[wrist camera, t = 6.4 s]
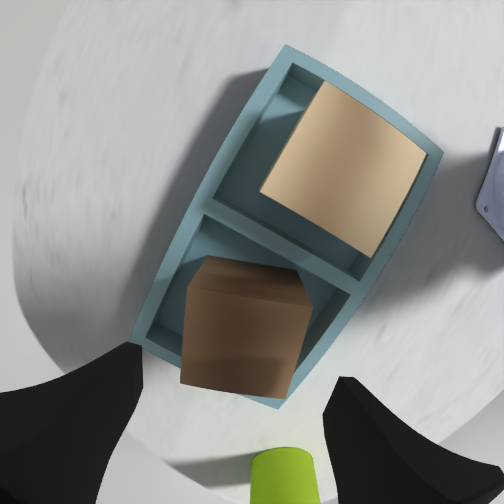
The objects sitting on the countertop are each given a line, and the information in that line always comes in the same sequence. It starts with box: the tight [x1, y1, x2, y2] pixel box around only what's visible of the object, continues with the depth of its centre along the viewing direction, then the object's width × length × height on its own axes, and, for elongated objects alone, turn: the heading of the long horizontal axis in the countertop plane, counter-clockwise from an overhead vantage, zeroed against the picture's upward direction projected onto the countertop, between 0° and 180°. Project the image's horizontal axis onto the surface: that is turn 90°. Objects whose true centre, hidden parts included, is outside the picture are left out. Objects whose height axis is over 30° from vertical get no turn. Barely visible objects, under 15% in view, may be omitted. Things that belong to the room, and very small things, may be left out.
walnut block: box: [180, 255, 313, 399], centre depth 14 cm, size 5×5×5 cm
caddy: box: [129, 44, 444, 409], centre depth 15 cm, size 10×18×3 cm, turn 151°
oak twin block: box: [259, 81, 427, 258], centre depth 12 cm, size 5×5×5 cm
